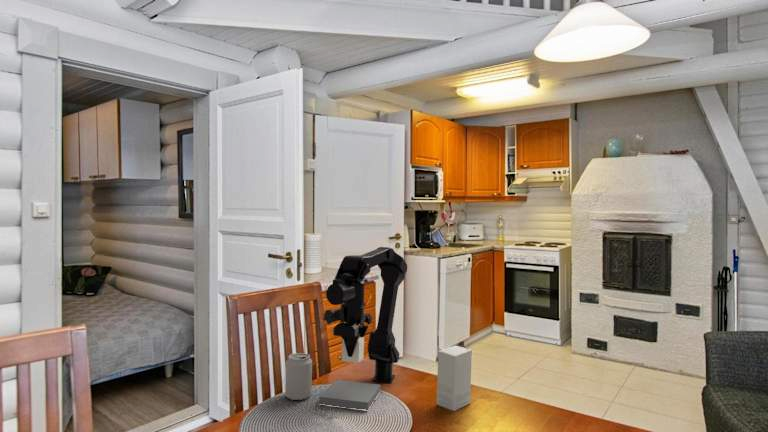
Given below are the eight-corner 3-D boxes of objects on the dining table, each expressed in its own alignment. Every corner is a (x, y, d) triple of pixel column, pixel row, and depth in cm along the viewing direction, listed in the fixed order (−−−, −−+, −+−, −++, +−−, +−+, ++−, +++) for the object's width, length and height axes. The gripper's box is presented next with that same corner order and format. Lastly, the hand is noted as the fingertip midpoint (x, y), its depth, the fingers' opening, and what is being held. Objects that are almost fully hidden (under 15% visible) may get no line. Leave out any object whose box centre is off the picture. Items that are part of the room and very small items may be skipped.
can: (305, 403, 130) (306, 360, 130) (280, 400, 131) (281, 358, 131) (314, 393, 137) (316, 352, 137) (291, 391, 138) (292, 350, 138)
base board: (336, 387, 142) (336, 379, 142) (380, 393, 138) (380, 384, 138) (318, 405, 128) (319, 396, 128) (367, 411, 125) (367, 402, 125)
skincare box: (453, 397, 137) (454, 344, 137) (472, 404, 132) (473, 349, 132) (435, 405, 131) (436, 349, 131) (454, 412, 126) (455, 355, 126)
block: (347, 356, 136) (347, 335, 136) (363, 357, 135) (364, 337, 135) (341, 361, 131) (342, 339, 131) (358, 362, 130) (359, 341, 130)
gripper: (338, 293, 144) (336, 343, 144) (315, 303, 126) (314, 360, 126) (372, 295, 142) (371, 346, 142) (355, 306, 124) (353, 364, 124)
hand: (352, 354), depth 133 cm, fingers closed on block, 5 cm apart
